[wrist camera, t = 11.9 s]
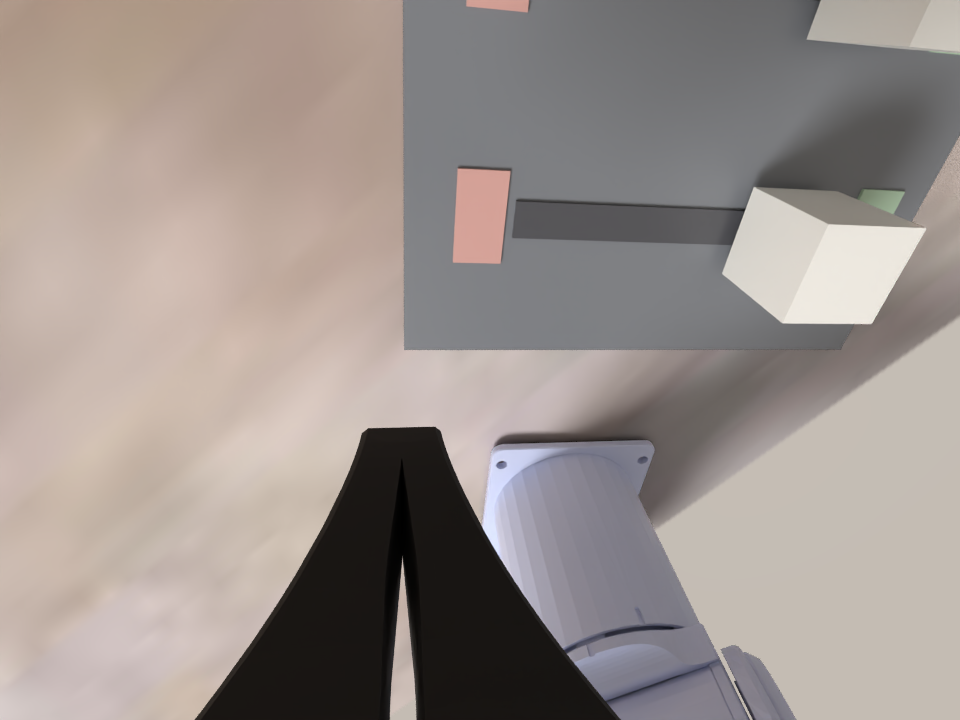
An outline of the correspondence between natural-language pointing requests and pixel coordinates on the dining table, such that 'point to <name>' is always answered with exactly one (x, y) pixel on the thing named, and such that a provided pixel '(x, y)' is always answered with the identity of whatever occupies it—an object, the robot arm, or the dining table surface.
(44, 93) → the dining table surface
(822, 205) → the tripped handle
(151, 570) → the dining table surface
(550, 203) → the board
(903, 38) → the cream cube box
